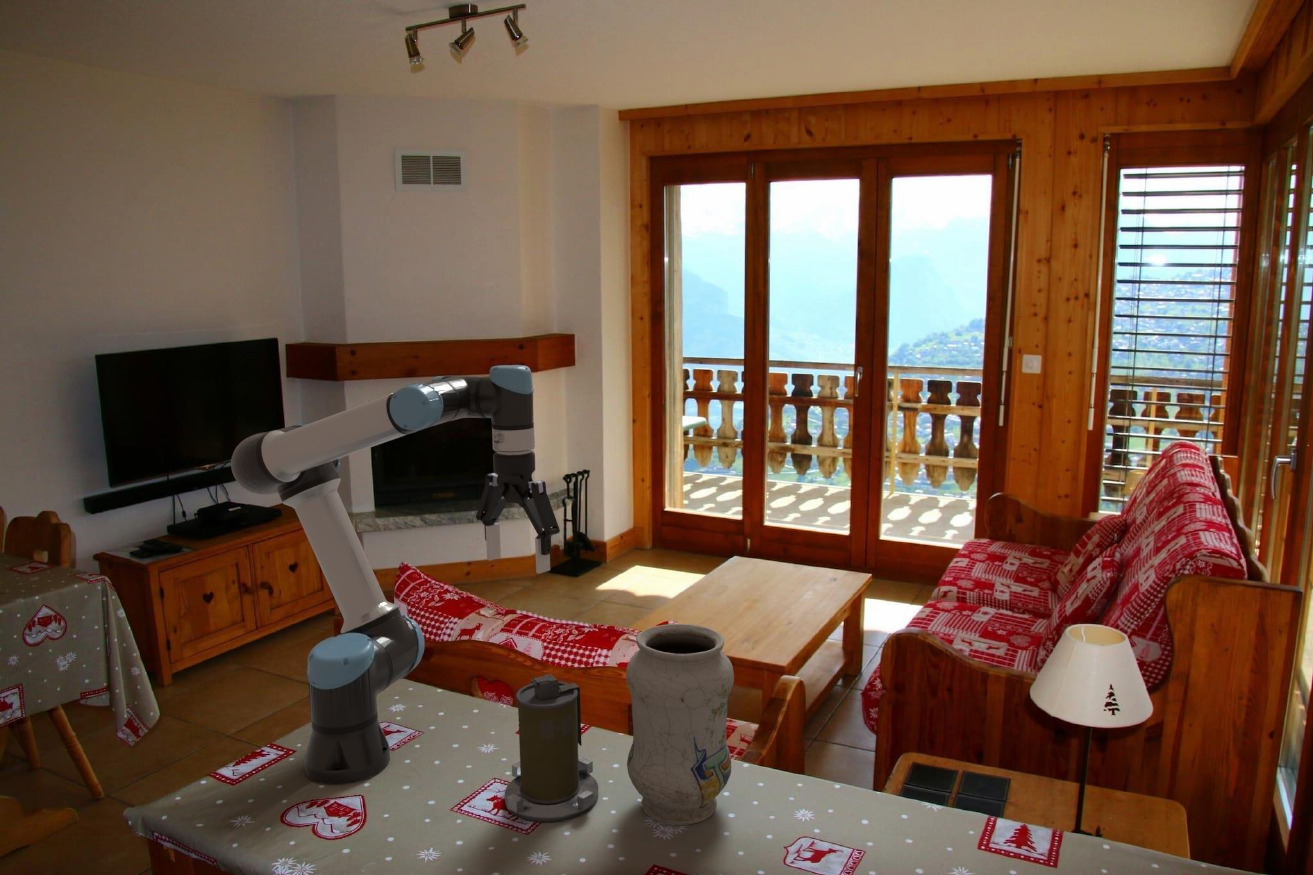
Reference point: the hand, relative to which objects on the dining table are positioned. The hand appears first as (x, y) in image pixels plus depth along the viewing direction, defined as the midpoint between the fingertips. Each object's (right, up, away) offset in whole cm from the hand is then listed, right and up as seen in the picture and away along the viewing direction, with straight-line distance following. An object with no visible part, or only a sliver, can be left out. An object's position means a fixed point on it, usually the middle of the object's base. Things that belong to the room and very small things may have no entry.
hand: (518, 565), depth 176 cm
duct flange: (+7, -39, -11) cm, 41 cm away
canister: (+7, -37, -11) cm, 39 cm away
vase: (+30, -39, -14) cm, 51 cm away
